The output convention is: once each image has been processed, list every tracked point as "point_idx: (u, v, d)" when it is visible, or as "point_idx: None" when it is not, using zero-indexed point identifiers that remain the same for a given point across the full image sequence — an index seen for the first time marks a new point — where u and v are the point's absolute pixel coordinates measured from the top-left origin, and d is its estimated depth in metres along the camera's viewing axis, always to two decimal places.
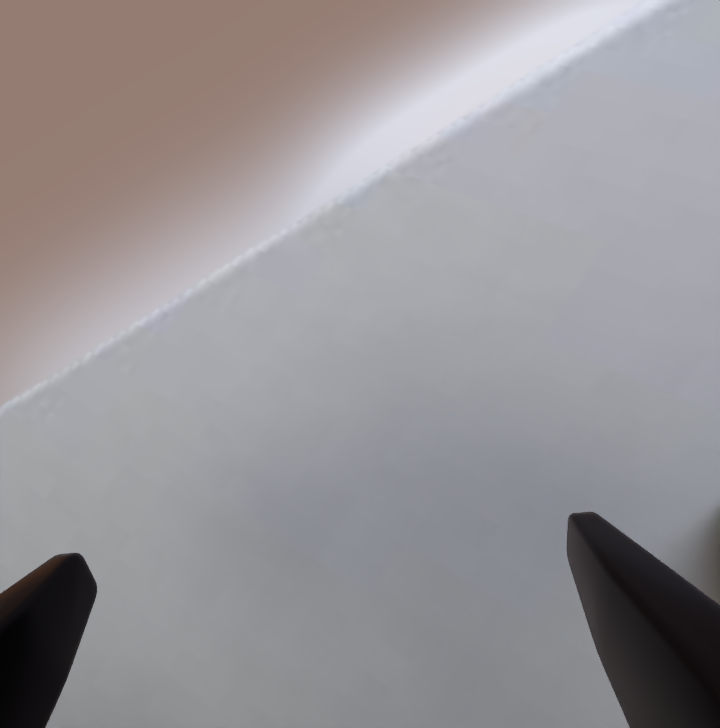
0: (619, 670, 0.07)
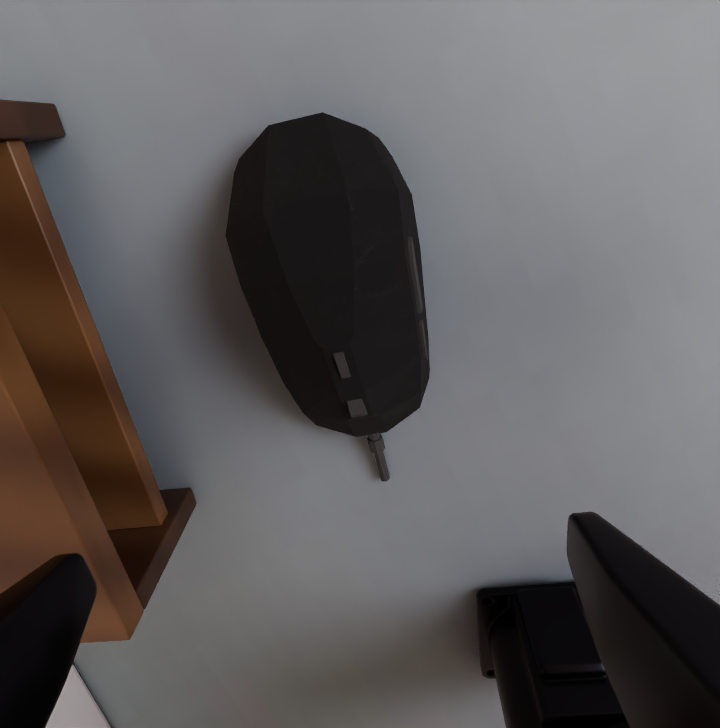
0: (619, 670, 0.07)
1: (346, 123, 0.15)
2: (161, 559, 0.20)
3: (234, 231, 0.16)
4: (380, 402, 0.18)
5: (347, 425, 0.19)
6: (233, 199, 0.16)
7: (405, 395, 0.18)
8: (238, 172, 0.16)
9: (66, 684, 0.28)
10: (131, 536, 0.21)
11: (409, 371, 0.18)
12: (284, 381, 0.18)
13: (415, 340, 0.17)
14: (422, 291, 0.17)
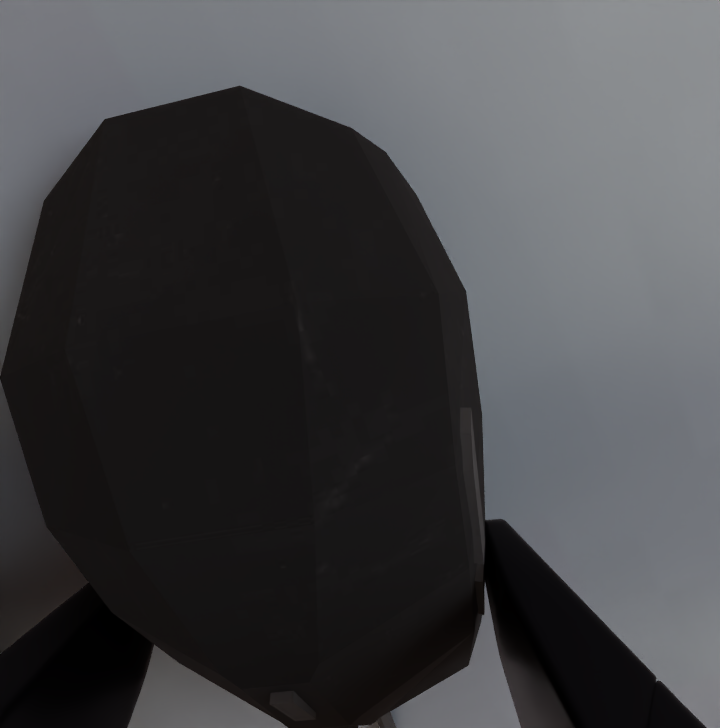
0: (512, 676, 0.07)
1: (301, 114, 0.06)
2: None
3: (15, 390, 0.06)
4: (385, 708, 0.08)
5: None
6: (20, 304, 0.06)
7: (437, 679, 0.09)
8: (38, 235, 0.06)
9: None
10: None
11: (448, 654, 0.08)
12: (182, 664, 0.08)
13: (466, 613, 0.07)
14: (482, 499, 0.07)
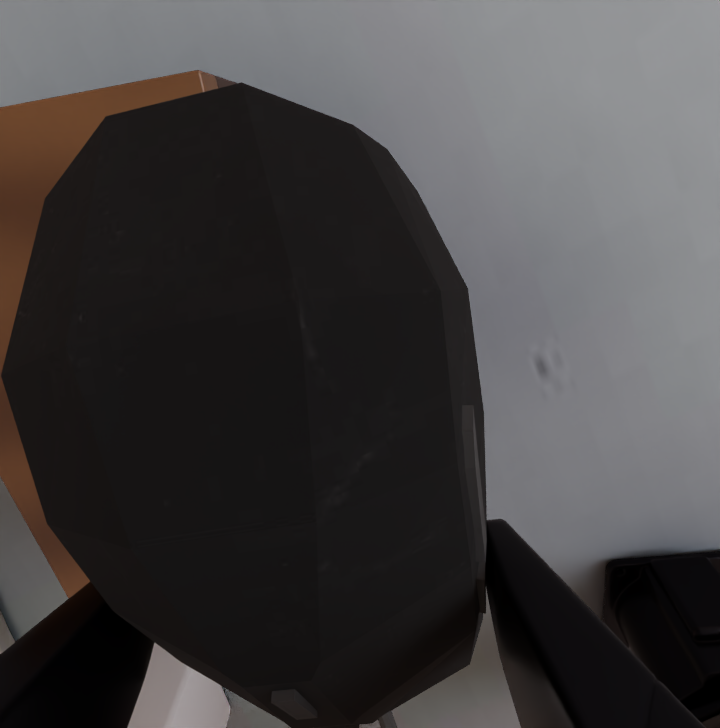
0: (512, 676, 0.07)
1: (303, 111, 0.06)
2: None
3: (15, 387, 0.06)
4: (386, 706, 0.08)
5: None
6: (21, 301, 0.06)
7: (438, 678, 0.09)
8: (39, 232, 0.06)
9: None
10: None
11: (450, 653, 0.08)
12: (182, 662, 0.08)
13: (467, 612, 0.07)
14: (484, 497, 0.07)
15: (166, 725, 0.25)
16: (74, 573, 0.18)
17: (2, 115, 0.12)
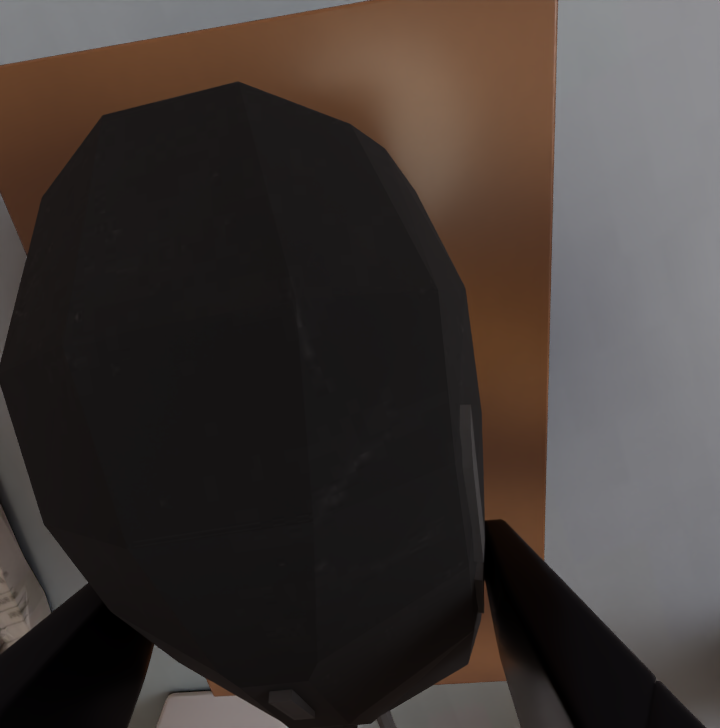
0: (512, 676, 0.07)
1: (300, 110, 0.06)
2: None
3: (12, 387, 0.06)
4: (385, 707, 0.08)
5: None
6: (18, 301, 0.06)
7: (436, 678, 0.09)
8: (36, 231, 0.06)
9: None
10: None
11: (448, 653, 0.08)
12: None
13: (466, 612, 0.07)
14: (482, 497, 0.07)
15: None
16: None
17: (242, 35, 0.08)
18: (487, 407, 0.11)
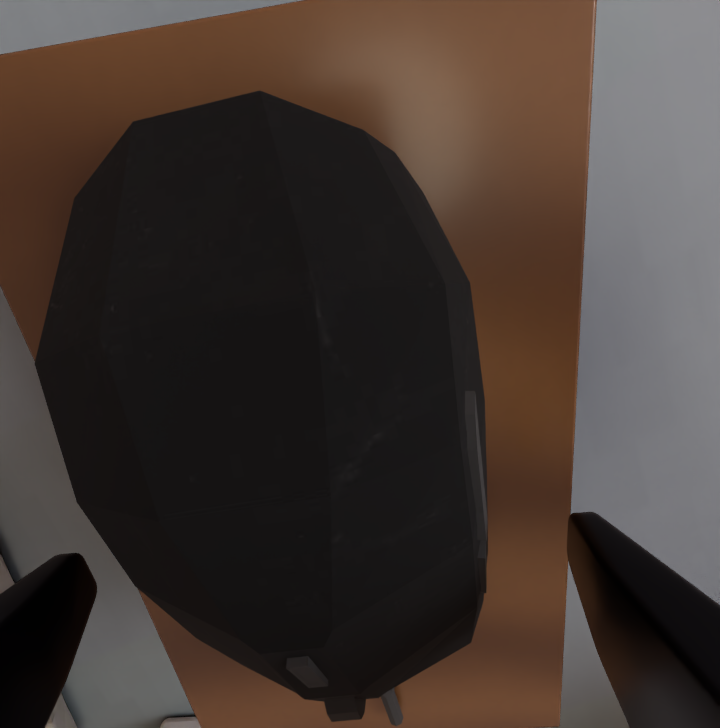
0: (619, 670, 0.07)
1: (317, 117, 0.06)
2: None
3: (49, 374, 0.07)
4: (392, 681, 0.09)
5: None
6: (53, 294, 0.07)
7: (441, 655, 0.09)
8: (69, 230, 0.07)
9: None
10: None
11: (452, 629, 0.09)
12: (198, 639, 0.09)
13: (469, 588, 0.08)
14: (485, 480, 0.08)
15: None
16: (212, 691, 0.13)
17: (233, 27, 0.07)
18: (507, 441, 0.10)
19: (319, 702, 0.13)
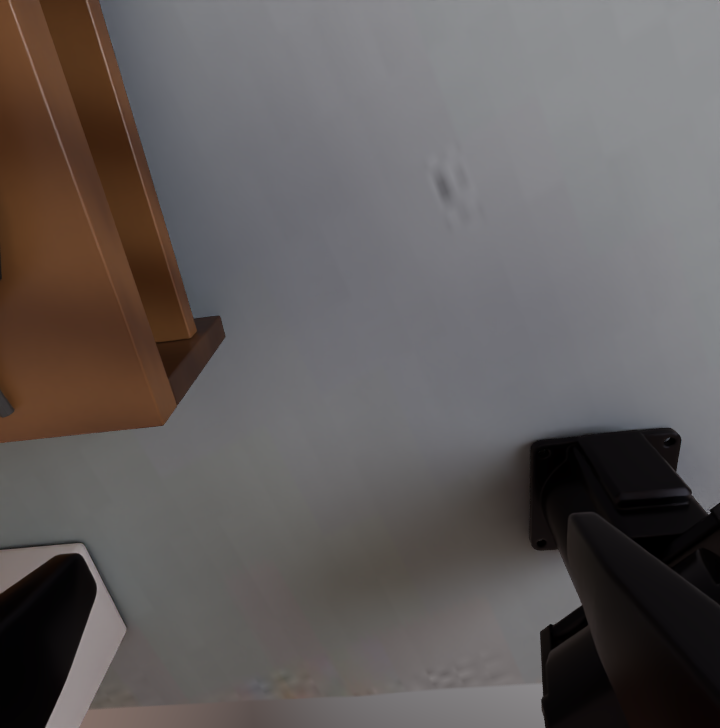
0: (619, 670, 0.07)
1: None
2: (193, 365, 0.18)
3: None
4: None
5: None
6: None
7: None
8: None
9: None
10: (157, 347, 0.18)
11: None
12: None
13: None
14: None
15: None
16: None
17: None
18: None
19: None
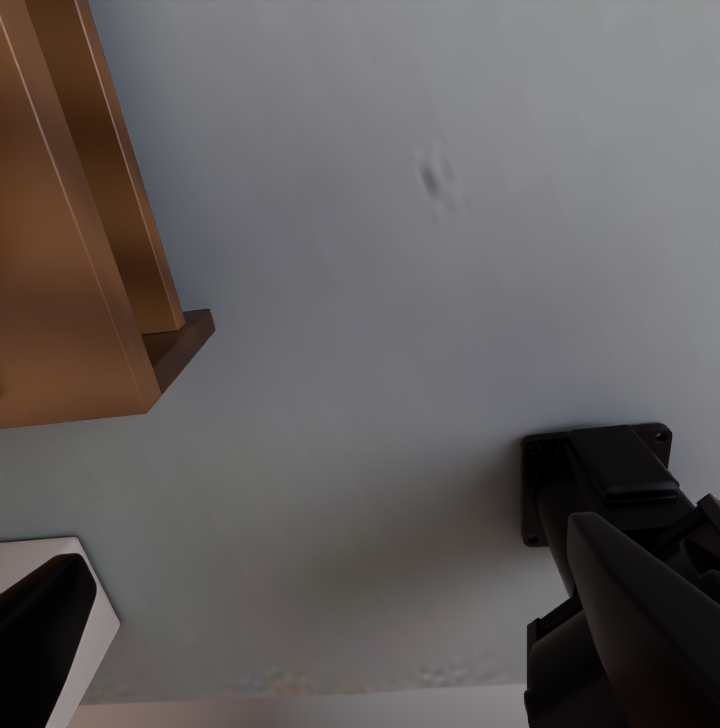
0: (619, 670, 0.07)
1: None
2: (179, 356, 0.18)
3: None
4: None
5: None
6: None
7: None
8: None
9: None
10: (145, 339, 0.18)
11: None
12: None
13: None
14: None
15: None
16: None
17: None
18: None
19: None
